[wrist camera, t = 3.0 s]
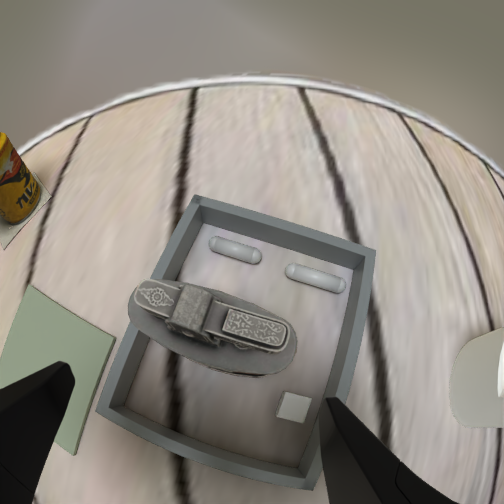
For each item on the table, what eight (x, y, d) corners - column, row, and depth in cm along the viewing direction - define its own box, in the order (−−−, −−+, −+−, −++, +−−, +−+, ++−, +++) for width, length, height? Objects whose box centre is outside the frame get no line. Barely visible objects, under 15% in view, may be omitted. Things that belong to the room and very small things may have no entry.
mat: (116, 338, 18) (114, 337, 18) (75, 454, 13) (73, 455, 13) (31, 285, 19) (29, 284, 19) (-4, 383, 15) (-7, 383, 14)
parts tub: (364, 264, 22) (376, 250, 20) (304, 479, 14) (313, 490, 12) (198, 212, 23) (194, 194, 21) (111, 409, 16) (95, 411, 13)
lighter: (159, 349, 18) (91, 313, 9) (175, 307, 20) (126, 240, 11) (269, 386, 17) (297, 389, 8) (282, 341, 19) (320, 299, 10)
